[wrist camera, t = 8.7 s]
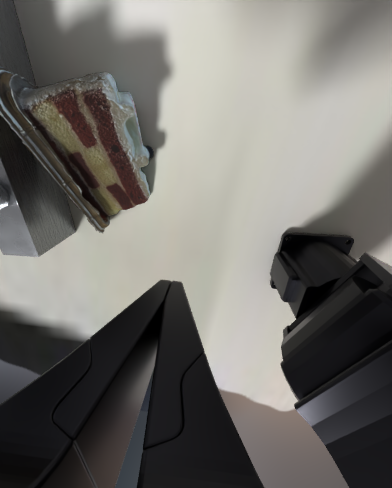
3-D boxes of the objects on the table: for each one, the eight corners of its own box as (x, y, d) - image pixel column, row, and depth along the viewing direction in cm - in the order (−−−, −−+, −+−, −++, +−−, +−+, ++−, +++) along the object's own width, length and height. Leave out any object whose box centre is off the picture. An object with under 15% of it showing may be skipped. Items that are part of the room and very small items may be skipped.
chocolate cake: (175, 215, 20) (137, 83, 8) (105, 239, 19) (-37, 132, 8) (149, 146, 23) (95, -21, 11) (88, 164, 22) (-33, 8, 11)
